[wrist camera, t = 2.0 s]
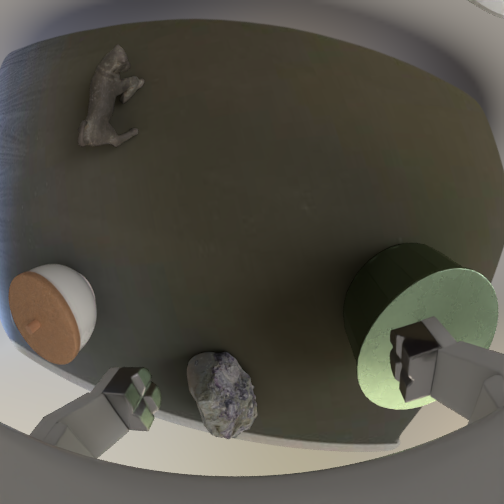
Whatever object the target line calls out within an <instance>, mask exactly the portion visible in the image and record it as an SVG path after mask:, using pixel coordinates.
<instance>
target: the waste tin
mask: <svg viewBox="0 0 504 504" xmlns="http://www.w3.org/2000/svg"><path fill="white" fill-rule="evenodd" d="M455 266H456V267H462V266H461V265H459V264H458V263H456V262H455V261H453V260H451V259H450V258H448V257H447V256H445V255H444V254H442V253H441V252H439V251H437V250H435V249H433V248H431V247H429V246H427V245H424V244H418V243H404V244H399V245H396V246H393V247H390V248H388V249H386V250H384V251H382V252H380V253H379V254H377V255H376V256H374V257H373V258H372V259H371V260H369V261H368V262H367V263H366V264H365V265H364V266H363V267H362V268H361V270H360V271H359V272H358V274H357V275H356V276H355V278H354V280H353V281H352V283H351V285H350V287H349V289H348V292H347V295H346V298H345V303H344V311H343V316H344V324H345V330H346V333H347V336H348V339H349V342H350V345H351V348H352V350H353V353H354V356H355V359H356V362H357V355H358V351H359V348H360V344H361V342H362V340H363V337H364V335H365V333H366V331H367V329H368V328H369V326H370V324H371V323H372V321H373V320H374V318H375V317H376V315H377V314H378V313H379V312H380V310H381V309H382V308H383V307H384V306H385V304H386V303H387V302H388V301H389V300H390V299H391V298H392V297H393V296H394V295H395V294H397V293H398V292H399V291H400V290H402V289H403V288H404V287H405V286H407V285H408V284H410V283H411V282H413V281H414V280H416V279H417V278H419V277H421V276H423V275H425V274H427V273H430V272H432V271H435V270H438V269H442V268H446V267H455Z"/></svg>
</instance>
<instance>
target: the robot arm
mask: <svg viewBox="0 0 504 504" xmlns="http://www.w3.org/2000/svg"><path fill="white" fill-rule="evenodd" d="M390 342H391V344H392V346H393V348H392V350H391V351H390V365H391V370H392V373H393V376H394V378H395V380H397V381H399V382H400V384H399V390H400V392H401V394H402V396H403V399H404V401H405V403H407V402H411V401H414V400H417V399H420V398H423V397H426V396H429V395H430V397H432V398H434V399H435V400H437V401H438V402H440V403H442V404H443V405H445V406H446V407H448V408H450V409H451V410H453V411H455V412H456V413H458V414H460V415H461V416H463V417H465V418H466V419H468V420H469V422H468V425H467V426H465V427H463V428H460V429H458V430H456V431H454V432H451V433H449V434H447V435H444V436H442V437H439V438H437V439H434V440H432V441H429V442H426V443H424V444H421V445H418V446H415V447H413V448H409V449H406V450H403V451H400V452H397V453H394V454H390V455H387V456H383V457H380V458H376V459H372V460H368V461H364V462H359V463H355V464H350V465H346V466H341V467H335V468H330V469H324V470H317V471H310V472H303V473H294V474H283V475H270V476H241V477H239V476H238V477H233V476H230V477H228V476H202V475H188V474H178V473H169V472H161V471H154V470H148V469H142V468H136V467H131V466H126V465H121V464H117V463H112V462H108V461H104V460H100V459H97V458H98V457H100V456H101V455H102V454H103V453H104V452H105V451H107V450H108V449H109V448H110V447H111V446H112V445H114V444H115V443H116V442H117V441H118V440H119V439H120V438H122V437H123V436H124V435H125V434H126V433H127V432H129V430H138V431H149V429H150V427H151V424H152V422H153V420H154V415H153V413H155V412H156V411H157V410H159V408H160V405H161V393H160V390H159V388H158V386H157V385H156V384H155V383H153V382H152V381H151V378H152V375H151V374H150V372H149V370H148V369H147V368H144V367H112V368H109V369H108V371H107V372H106V373H105V374H104V376H103V377H102V378H101V380H100V381H99V382H98V384H97V385H96V386H95V388H94V389H93V390H92V391H91V393H86V394H84V395H82V396H81V397H79V398H77V399H75V400H74V401H72V402H70V403H68V404H67V405H65V406H63V407H62V408H59V409H58V410H56V411H54V412H52V413H50V414H48V415H47V416H45V417H43V419H42V420H41V421H40V423H39V424H38V425H37V426H36V427H35V429H34V430H33V431H32V433H31V434H30V435H27V434H25V433H22V432H20V431H18V430H16V429H13V428H11V427H9V426H7V425H5V424H3V423H1V422H0V504H504V354H502V353H499V352H496V351H492V350H489V349H486V348H482V347H479V346H476V345H473V344H470V343H466V342H463V341H460V342H457V341H456V340H455V339H454V338H453V337H452V335H451V334H450V333H449V332H448V331H447V330H446V328H445V327H444V326H443V325H442V324H441V323H440V322H439V320H438V319H437V318H436V317H434V316H432V317H429V318H426V319H423V320H421V321H419V322H416V323H413V324H409V325H406V326H403V327H399V328H396V329H392V330H391V332H390Z"/></svg>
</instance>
